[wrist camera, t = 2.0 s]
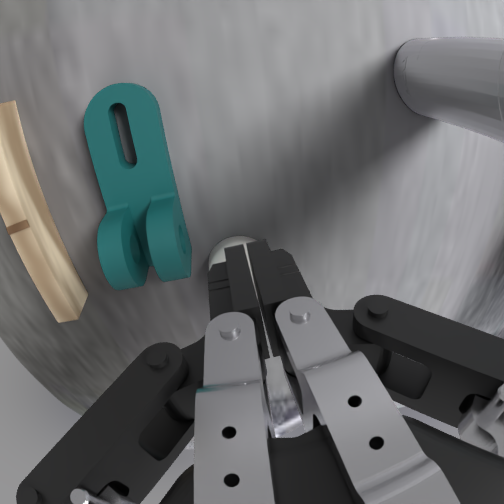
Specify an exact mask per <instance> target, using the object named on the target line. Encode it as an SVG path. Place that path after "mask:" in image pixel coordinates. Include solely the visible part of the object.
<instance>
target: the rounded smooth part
mask: <svg viewBox="0 0 504 504" xmlns="http://www.w3.org/2000/svg"><path fill="white" fill-rule="evenodd" d="M254 241H256V240H254V239H252V238H250V237H246V236H233V237H229V238H226V239H224V240H222V241H221V242H219V243H218V244H217V245H216V246H215V247H214V248H213V250H212V251H211V253H210V256H209V261H208V262H209V270H210V268H211V267H212V265H213V264H216V263H221V262H225V261H226V259H225V252H224V248H227V247H231V246H236V245H240V244H243V245H244V249H245V253H246V257H247V260H248V264H249V268H250V272H251V276H252V271H251V266H250V261H249V256H248V251H247V246H246V243H249V242H254ZM252 280H253V276H252ZM253 283H254V281H253ZM254 287H255V285H254ZM255 291H256V289H255ZM256 295H257V293H256ZM257 299H258V297H257Z"/></svg>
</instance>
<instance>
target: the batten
mask: <svg viewBox="0 0 504 504" xmlns="http://www.w3.org/2000/svg"><path fill="white" fill-rule="evenodd" d="M0 213H1V215H2V218H3V220H4V222H5V225H6V229H7V232H8V234H9V235H10V236H11V238H12V240H13V242H14V245H15V247H16V249H17V251H18V253H19V255H20V257H21V259H22V261H23V263H24V265H25V267H26V269H27V270H28V272H29V274H30V276H31V278H32V280H33V281H34V283H35V285H36V287H37V289H38V290H39V292H40V294H41V296H42V297H43V299H44V301H45V302H46V304H47V306H48V307H49V309H50V310H51V312H52V314H53V315H54V317H55V318H56V320H57V321H58V323H60V322H66V321H72V320H77V319H79V317H80V314H81V311H82V309H83V306H84V304H85V301H86V299H87V297H88V293H87V291H86V289H85V287H84V285H83V283H82V281H81V279H80V277H79V275H78V273H77V271H76V269H75V267H74V265H73V263H72V261H71V259H70V257H69V255H68V253H67V251H66V249H65V246H64V244H63V242H62V240H61V237H60V235H59V233H58V231H57V228H56V226H55V224H54V221H53V219H52V216H51V214H50V211H49V209H48V206H47V204H46V201H45V198H44V196H43V193H42V190H41V188H40V185H39V182H38V179H37V176H36V173H35V170H34V167H33V164H32V161H31V158H30V155H29V151H28V148H27V145H26V141H25V137H24V134H23V130H22V126H21V122H20V118H19V114H18V110H17V106H16V101H10V102H5V103H1V104H0Z"/></svg>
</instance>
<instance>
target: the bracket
mask: <svg viewBox="0 0 504 504" xmlns="http://www.w3.org/2000/svg"><path fill="white" fill-rule="evenodd" d="M118 103H122V104H123V105H124V106H125V107H126V111H127V116H128V121H129V125H130V130H131V134H132V138H133V143H134V147H135V151H136V155H137V163H135V164H131V163H128V162H127V161H126V159H125V156H124V152H123V148H122V144H121V140H120V136H119V131H118V127H117V122H116V118H115V113H114V109H115V106H116V105H117V104H118ZM84 130H85V135H86V139H87V143H88V146H89V150H90V154H91V158H92V162H93V165H94V169H95V172H96V176H97V179H98V182H99V186H100V189H101V192H102V196H103V199H104V202H105V205H106V208H107V213H106V215H105V216H104V218H103V219H102V221H101V223H100V225H99V228H98V235H97V246H98V254H99V259H100V263H101V267H102V270H103V272H104V275H105V277H106V279H107V281H108V282H109V284H110V285H111V286H112V287H113V288H114V289H115V290H123V289H129V288H134V287H140V286H143V285H144V284H145V281H146V277H147V273H148V268H149V266H154V267H155V270H156V272H157V274H158V276H159V278H160V279H161V280H162V281H163V282H167V281H172V280H178V279H183V278H188V277H190V275H191V253H192V248H191V244H190V240H189V236H188V232H187V228H186V224H185V220H184V216H183V212H182V208H181V204H180V200H179V196H178V191H177V187H176V183H175V179H174V174H173V170H172V165H171V161H170V156H169V152H168V147H167V142H166V138H165V133H164V128H163V123H162V118H161V113H160V108H159V105H158V102H157V100H156V98H155V97H154V95H153V94H152V93H151V92H150V91H149V90H147V89H146V88H144V87H143V86H140V85H137V84H132V83H118V84H113V85H110V86H108V87H106V88H104V89H102V90H101V91H99V92H98V93H97V94H96V95H95V96H94V97H93V99H92V100H91V101H90V103H89V105H88V107H87V109H86V112H85V116H84Z"/></svg>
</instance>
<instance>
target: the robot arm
mask: <svg viewBox="0 0 504 504" xmlns="http://www.w3.org/2000/svg"><path fill="white" fill-rule="evenodd" d="M394 79H395V84H396V87H397V90H398V93H399V94H400V96H401V98H402V100H403V101H404V102H405V104H406V105H407V106H408V107H409V108H410V109H411V110H412V111H414V112H416V113H418V114H419V115H423V116H427V117H430V118H434V119H437V120H440V121H443V122H446V123H450V124H453V125H456V126H459V127H462V128H465V129H468V130H471V131H474V132H477V133H480V134H482V135H485V136H488V137H490V138H493V139H496V140H498V141H501V142H503V143H504V39H499V38H480V37H438V38H421V39H413V40H410V41H408V42H406V43H405V44H404V45H403V46H402V47H401V48H400V50H399V51H398V53H397V56H396V58H395V63H394ZM246 246H247V251H248V256H249V261H250V266H251V271H252V276H253V280H252V276H251V272H250V268H249V264H248V260H247V257H246V253H245V249H244V245H243V244H240V245H236V246H231V247H227V248H224V252H225V259H226V261H225V262H221V263H216V264H213V265H212V267H211V268H210V270H209V272H208V284H209V285H208V288H209V304H210V318H211V322H210V323H209V324H208V326H207V328H206V331H205V335H204V337H202V338H201V339H200V340H199V341H197V342H196V343H194V344H192V345H189V346H187V347H185V348H183V349H181V350H180V349H179V347H177V346H176V345H174V344H172V343H167V342H163V343H157V344H154V345H151V346H150V347H148V348H146V349H145V350H144V351H143V352H142V353H141V354H140V355H139V356H138V357H137V358H136V359H135V360H134V361H133V362H132V363H131V364H130V365H129V367H128V368H127V369H126V370H125V371H124V372H123V373H122V374H121V375H120V376H119V377H118V378H117V379H116V380H115V381H114V383H113V384H112V385H111V386H110V387H109V388H108V389H107V390H106V391H105V392H104V393H103V394H102V395H101V396H100V397H99V399H98V400H97V401H96V402H95V403H94V404H93V405H92V406H91V407H90V408H89V409H88V410H87V411H86V413H85V414H84V415H83V416H82V417H81V418H80V419H79V420H78V421H77V422H76V423H75V424H74V425H73V427H72V428H71V429H70V430H69V431H68V432H67V433H66V434H65V435H64V437H63V438H62V439H61V440H60V441H59V442H58V443H57V444H56V445H55V446H54V447H53V449H51V451H50V452H49V453H48V454H47V455H46V456H45V457H44V458H43V459H42V460H41V461H40V462H39V464H38V465H37V466H36V467H35V468H34V469H33V470H32V471H31V473H30V474H29V475H28V476H27V477H26V478H25V479H24V480H23V481H22V482H21V484H20V485H19V487H18V490H17V495H16V500H17V504H140V503H141V502H142V501H143V499H144V498H145V497H146V496H147V494H148V493H149V492H150V491H151V490H152V488H153V487H154V486H155V485H156V483H157V482H158V481H159V480H160V479H161V477H162V476H163V475H164V474H165V472H166V471H167V470H168V468H169V467H170V466H171V465H172V463H173V462H174V461H175V460H176V458H177V457H178V456H179V454H180V453H181V452H182V451H183V449H184V448H185V447H186V445H187V444H188V443H189V441H190V440H191V439H192V437H193V436H194V464H193V465H191V466H190V467H189V468H188V469H186V470H185V471H184V472H183V474H181V475H180V476H179V478H178V479H177V480H176V481H175V483H174V484H173V486H172V487H171V488H170V490H169V491H168V492H167V494H166V495H165V496H164V498H163V499H162V500H161V502H160V503H159V504H504V339H502V338H499V337H496V336H494V335H491V334H488V333H485V332H483V331H480V330H477V329H475V328H472V327H469V326H466V325H464V324H461V323H458V322H456V321H453V320H450V319H447V318H445V317H442V316H439V315H436V314H434V313H431V312H428V311H425V310H423V309H420V308H417V307H415V306H412V305H409V304H406V303H404V302H401V301H398V300H395V299H393V298H390V297H387V296H383V295H370V296H366V297H364V298H362V299H360V300H359V301H358V302H357V303H356V305H355V307H354V310H331V309H327V308H324V307H323V306H322V304H321V303H320V302H319V301H317V300H315V299H313V298H312V296H311V294H310V292H309V290H308V288H307V286H306V284H305V282H304V279H303V277H302V275H301V273H300V272H299V269H298V267H297V265H296V263H295V261H294V259H293V257H292V255H291V254H289V253H288V252H286V251H285V250H283V249H279V250H275V251H270V249H269V246H268V244H267V241H266V239H263V240H258V241H254V242H249V243H246ZM253 281H254V283H253ZM254 285H255V287H254ZM255 289H256V291H255ZM256 293H257V295H256ZM257 297H258V299H257ZM258 301H259V302H258ZM259 305H260V306H259ZM260 308H261V311H260ZM261 312H262V316H263V320H264V323H265V327H266V331H267V335H268V338H269V342H270V346H271V350H272V353H273V357H276V356H280V357H281V360H282V363H283V369H284V375H285V378H286V380H287V383H288V385H289V388H290V391H291V393H292V396H293V398H294V401H295V403H296V406H297V409H298V411H299V414H300V416H301V419H302V422H303V425H304V429H305V433H304V434H302V435H301V436H298V437H295V438H276V437H275V432H274V426H273V419H272V412H271V405H270V398H269V391H268V384H267V378H266V376H267V369H266V364H265V360H264V359H268V358H270V356H269V351H268V346H267V341H266V336H265V331H264V326H263V321H262V316H261ZM396 353H397V354H396ZM401 355H402V356H401ZM403 356H404V357H403ZM408 358H409V359H408ZM413 360H414V361H413ZM415 361H416V362H415ZM420 363H421V364H420ZM393 401H395V402H398V403H400V404H402V405H404V406H407V407H409V408H411V409H413V410H416V411H418V412H420V413H423V414H425V415H427V416H430V417H432V418H434V419H437V420H439V421H441V422H444V423H446V424H449V425H451V426H454V427H456V428H458V432H459V435H460V439H458V438H456V437H453V436H451V435H449V434H447V433H444V432H442V431H440V430H438V429H436V428H433V427H431V426H429V425H427V424H425V423H423V422H420V421H419V420H416V419H414V418H411V417H408V416H404V415H401V413H400V412H399V410H398V408H397V407H396V405H395V403H394V402H393Z"/></svg>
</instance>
